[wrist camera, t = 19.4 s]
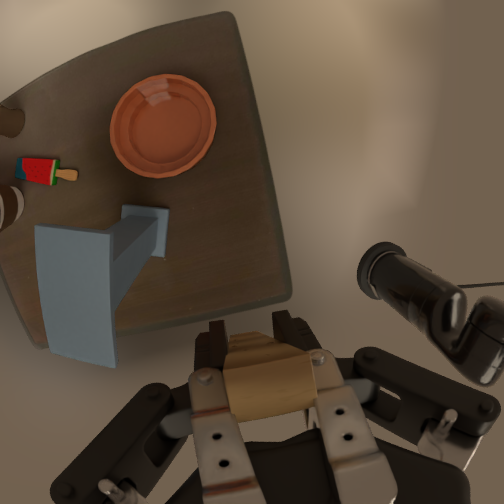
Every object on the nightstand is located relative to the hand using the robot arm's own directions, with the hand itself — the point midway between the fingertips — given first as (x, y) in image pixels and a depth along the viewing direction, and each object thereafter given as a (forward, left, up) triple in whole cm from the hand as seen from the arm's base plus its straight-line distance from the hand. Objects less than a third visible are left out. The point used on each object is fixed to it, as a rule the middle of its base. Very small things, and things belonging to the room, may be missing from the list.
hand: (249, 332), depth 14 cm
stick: (0, +3, -1) cm, 3 cm away
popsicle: (+31, -14, -35) cm, 49 cm away
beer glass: (+39, -26, -35) cm, 59 cm away
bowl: (+7, -16, -35) cm, 39 cm away
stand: (+13, 0, -35) cm, 38 cm away
